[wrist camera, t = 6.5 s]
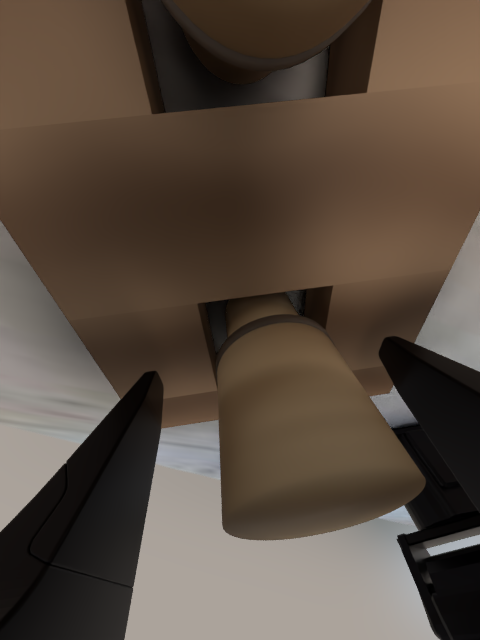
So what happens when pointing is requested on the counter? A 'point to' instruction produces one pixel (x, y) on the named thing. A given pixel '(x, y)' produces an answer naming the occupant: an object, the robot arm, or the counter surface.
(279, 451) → the oak leg
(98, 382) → the counter surface
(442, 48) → the brown block with openings
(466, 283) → the counter surface
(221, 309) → the counter surface
